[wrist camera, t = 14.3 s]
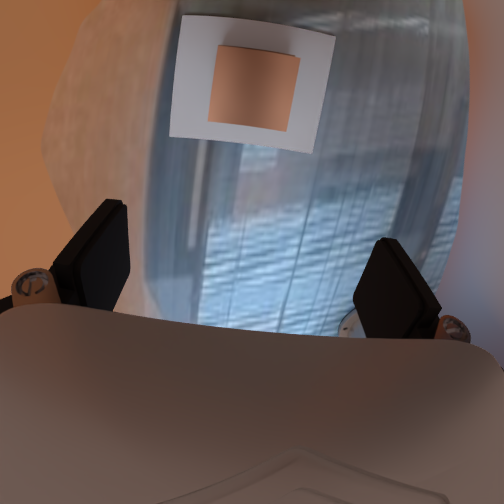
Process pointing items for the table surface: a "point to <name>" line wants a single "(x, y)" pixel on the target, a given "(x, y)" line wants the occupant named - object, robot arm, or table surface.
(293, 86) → the terracotta cube
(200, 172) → the table surface
